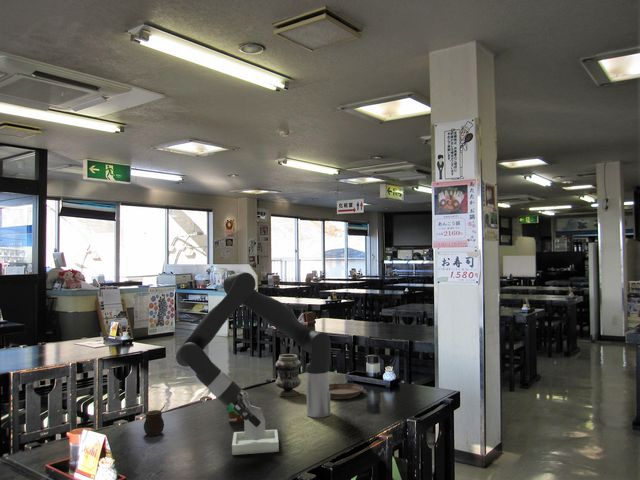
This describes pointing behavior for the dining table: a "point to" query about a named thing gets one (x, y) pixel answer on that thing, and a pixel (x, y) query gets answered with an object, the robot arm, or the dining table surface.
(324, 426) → the dining table surface
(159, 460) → the dining table surface
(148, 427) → the mate gourd
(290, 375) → the apothecary jar
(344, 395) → the plant saucer
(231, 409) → the food container
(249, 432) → the tea bag
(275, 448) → the tray
